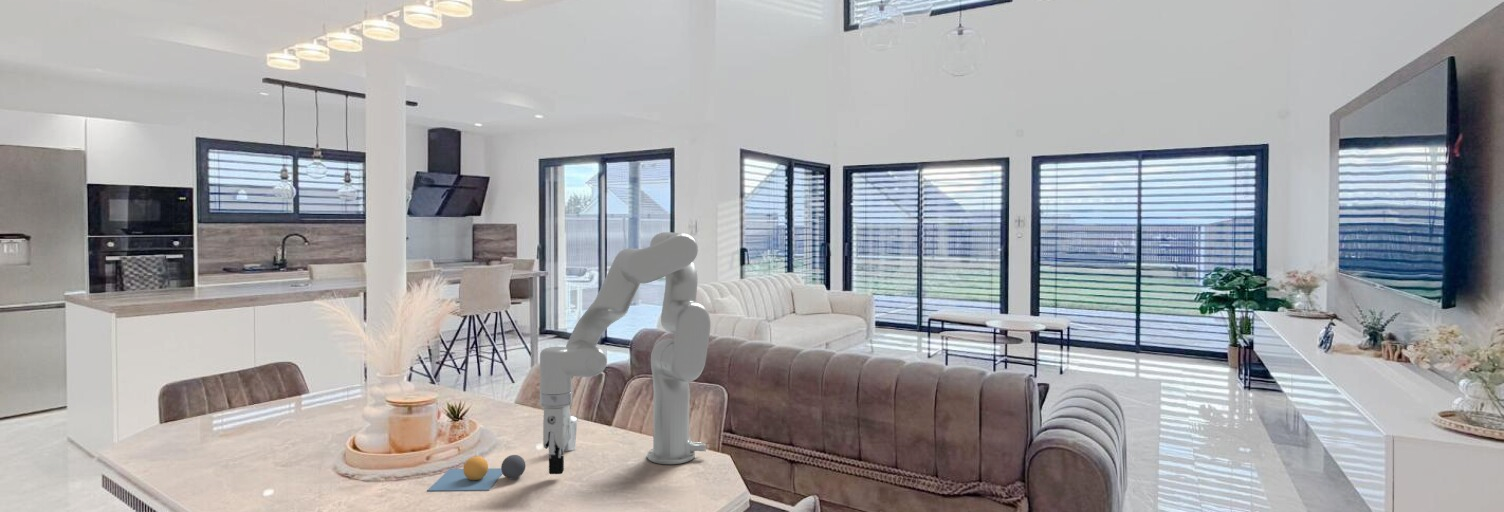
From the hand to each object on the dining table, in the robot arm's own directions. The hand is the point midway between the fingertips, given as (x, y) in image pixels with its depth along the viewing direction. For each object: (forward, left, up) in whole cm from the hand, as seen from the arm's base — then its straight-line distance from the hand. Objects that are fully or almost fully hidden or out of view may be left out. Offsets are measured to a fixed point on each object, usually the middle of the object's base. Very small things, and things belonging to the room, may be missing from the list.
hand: (556, 472), depth 171 cm
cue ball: (+10, -1, +1) cm, 11 cm away
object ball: (+19, 0, +1) cm, 19 cm away
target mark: (+21, 0, -2) cm, 21 cm away
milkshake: (+1, -22, -2) cm, 22 cm away
